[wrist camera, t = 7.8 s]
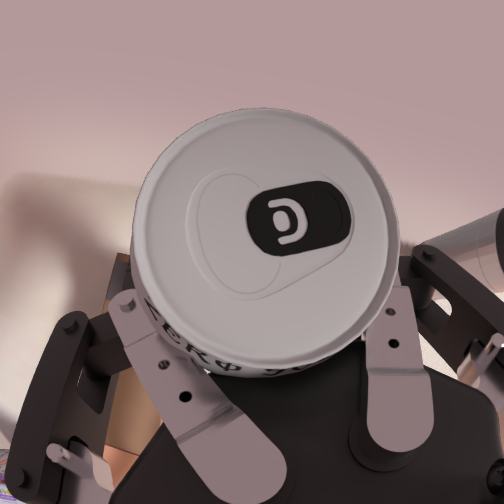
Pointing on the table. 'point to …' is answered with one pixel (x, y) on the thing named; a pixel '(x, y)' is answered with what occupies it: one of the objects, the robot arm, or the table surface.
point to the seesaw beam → (127, 403)
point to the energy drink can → (263, 242)
